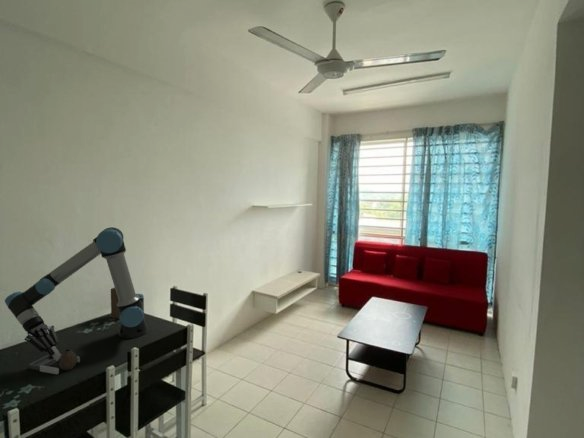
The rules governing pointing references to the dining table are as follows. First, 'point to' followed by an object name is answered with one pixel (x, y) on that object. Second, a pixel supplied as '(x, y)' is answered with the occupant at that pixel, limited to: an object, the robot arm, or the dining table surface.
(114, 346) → the dining table surface
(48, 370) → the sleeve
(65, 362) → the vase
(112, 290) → the block
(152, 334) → the dining table surface
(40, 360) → the grey flat frame
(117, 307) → the robot arm
